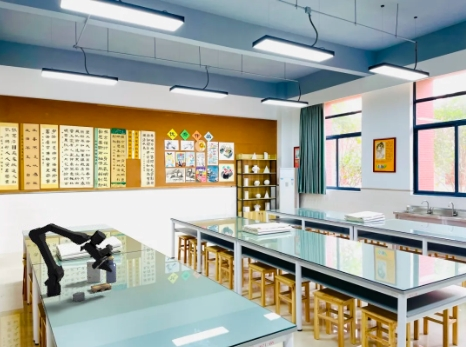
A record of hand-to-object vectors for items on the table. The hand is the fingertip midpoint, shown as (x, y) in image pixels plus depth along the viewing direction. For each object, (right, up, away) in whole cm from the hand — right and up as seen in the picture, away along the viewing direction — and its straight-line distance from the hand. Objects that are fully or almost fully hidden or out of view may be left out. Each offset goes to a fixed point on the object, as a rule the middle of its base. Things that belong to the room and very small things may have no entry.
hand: (113, 270), depth 197 cm
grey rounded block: (-16, -14, -8) cm, 23 cm away
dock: (-10, -13, +7) cm, 18 cm away
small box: (-19, -13, +23) cm, 33 cm away
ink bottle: (-1, -7, 0) cm, 7 cm away
